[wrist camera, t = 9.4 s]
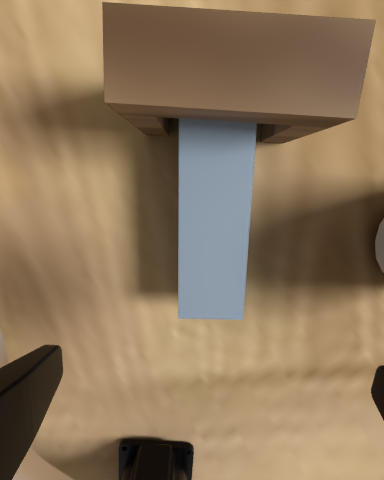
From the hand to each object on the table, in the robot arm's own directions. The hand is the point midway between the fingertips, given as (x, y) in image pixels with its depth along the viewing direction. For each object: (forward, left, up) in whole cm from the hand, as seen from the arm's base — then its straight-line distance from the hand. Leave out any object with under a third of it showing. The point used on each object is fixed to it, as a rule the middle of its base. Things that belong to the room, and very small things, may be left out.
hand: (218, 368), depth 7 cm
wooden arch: (+9, 0, -12) cm, 15 cm away
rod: (+5, 0, -12) cm, 13 cm away
